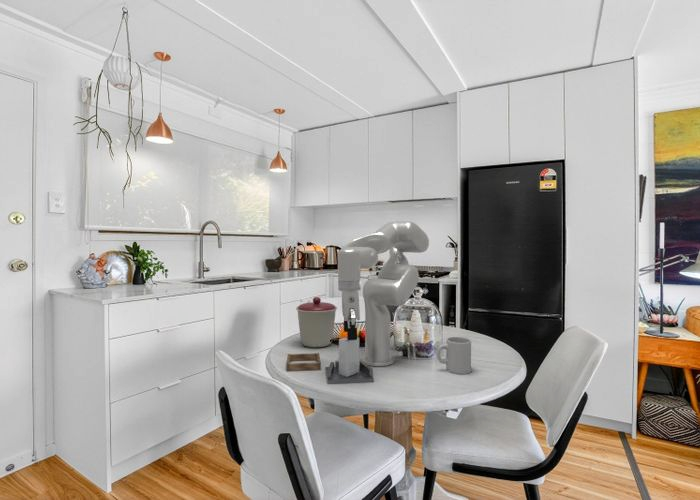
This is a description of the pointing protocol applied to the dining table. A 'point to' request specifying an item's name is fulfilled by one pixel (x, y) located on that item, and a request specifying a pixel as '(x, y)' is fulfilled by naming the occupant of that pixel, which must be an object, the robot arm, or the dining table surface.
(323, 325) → the canister
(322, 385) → the dining table surface
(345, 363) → the skincare box
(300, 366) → the walnut collar
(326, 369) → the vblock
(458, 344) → the mug
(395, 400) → the dining table surface
